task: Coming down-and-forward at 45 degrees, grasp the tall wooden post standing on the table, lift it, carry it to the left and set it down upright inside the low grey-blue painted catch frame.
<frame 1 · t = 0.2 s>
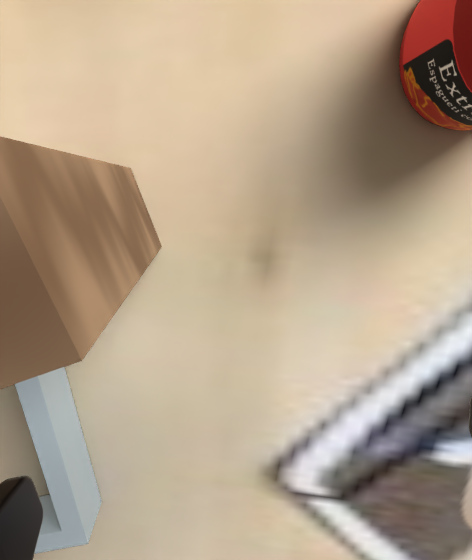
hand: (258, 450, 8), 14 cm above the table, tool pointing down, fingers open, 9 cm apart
canned food: (462, 54, 20), on the table
tall wooden post: (108, 222, 20), on the table
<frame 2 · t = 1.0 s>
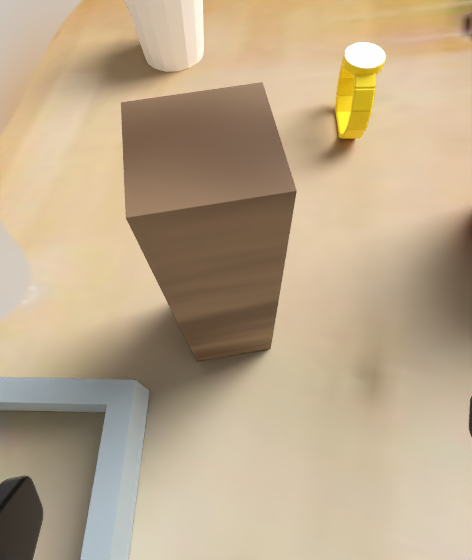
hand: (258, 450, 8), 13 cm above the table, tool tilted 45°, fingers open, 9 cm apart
white cup: (174, 55, 36), on the table
tall wooden post: (227, 320, 23), on the table
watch: (344, 127, 30), on the table
when the fingers open (8 cm above the table, at t = 6.6 s): tall wooden post drops 1 cm, resting in catch frame.
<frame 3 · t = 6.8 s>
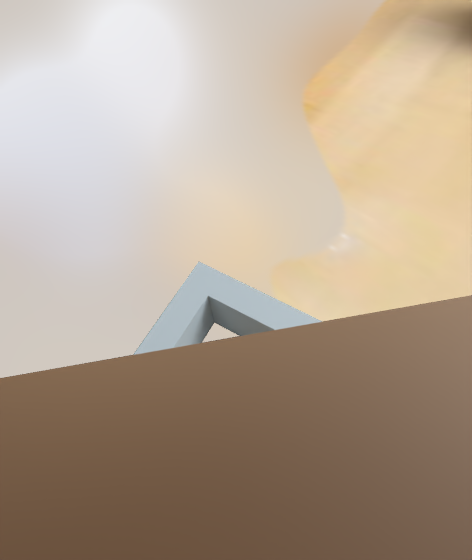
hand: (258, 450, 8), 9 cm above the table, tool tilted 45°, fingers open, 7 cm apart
catch frame: (262, 503, 14), on the table
tall wooden post: (261, 500, 14), resting in catch frame
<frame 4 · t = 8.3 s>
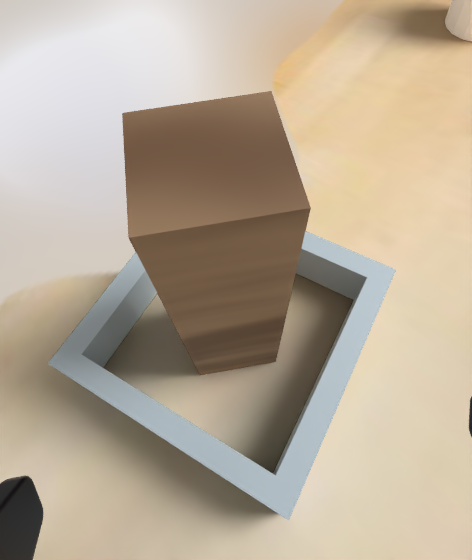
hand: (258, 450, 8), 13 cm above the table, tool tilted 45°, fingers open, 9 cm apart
catch frame: (232, 333, 22), on the table
tall wooden post: (231, 332, 22), resting in catch frame
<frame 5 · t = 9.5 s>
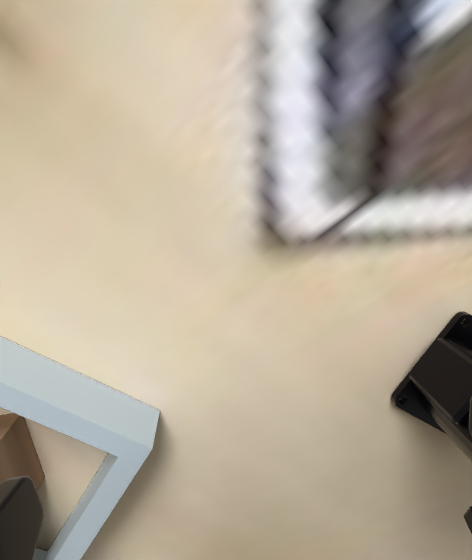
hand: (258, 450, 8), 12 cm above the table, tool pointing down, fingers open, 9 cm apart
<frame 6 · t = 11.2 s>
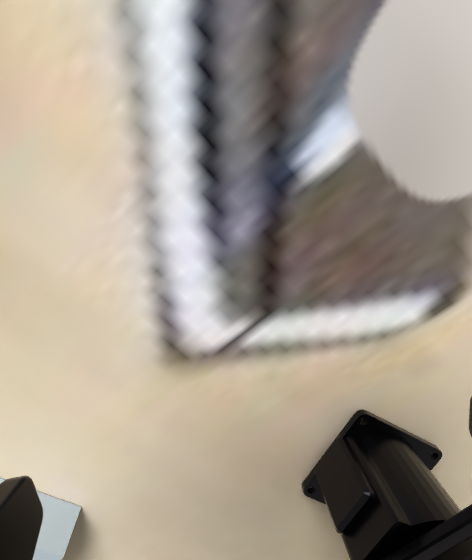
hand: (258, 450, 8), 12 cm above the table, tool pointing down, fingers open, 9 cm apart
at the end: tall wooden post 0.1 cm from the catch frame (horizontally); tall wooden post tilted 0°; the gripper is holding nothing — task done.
